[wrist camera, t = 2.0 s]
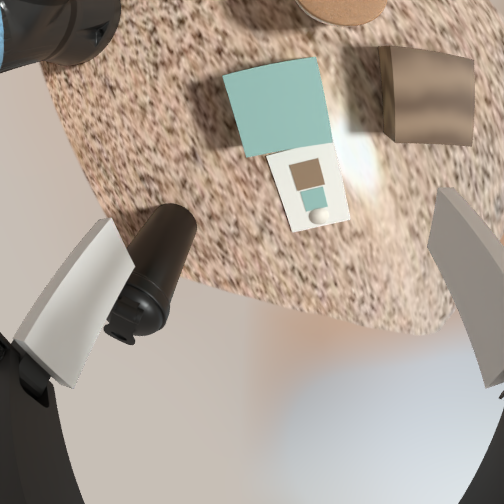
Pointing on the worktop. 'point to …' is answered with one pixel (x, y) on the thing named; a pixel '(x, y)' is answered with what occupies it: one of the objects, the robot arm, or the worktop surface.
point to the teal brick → (279, 106)
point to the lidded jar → (343, 11)
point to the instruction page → (310, 186)
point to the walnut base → (427, 96)
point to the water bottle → (152, 273)
